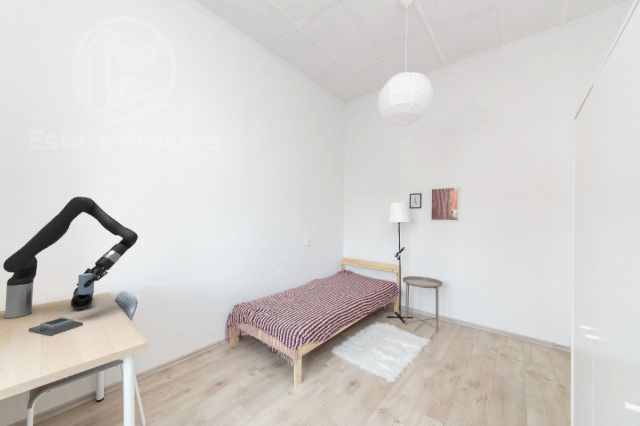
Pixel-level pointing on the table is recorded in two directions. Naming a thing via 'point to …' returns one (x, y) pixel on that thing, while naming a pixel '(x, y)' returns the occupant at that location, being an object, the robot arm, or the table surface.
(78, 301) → the muzzle brake
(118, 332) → the table surface
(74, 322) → the grey metal socket plate
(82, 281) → the peg
